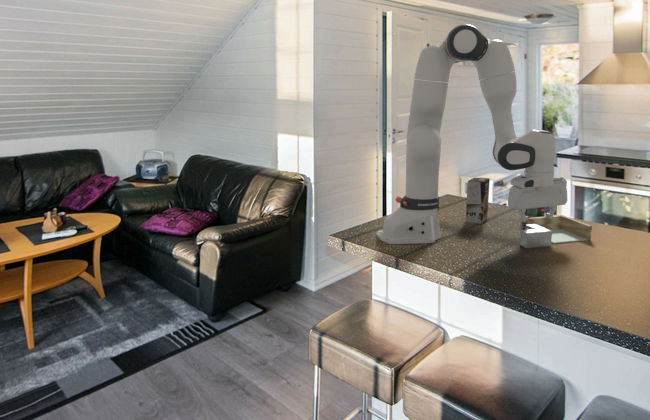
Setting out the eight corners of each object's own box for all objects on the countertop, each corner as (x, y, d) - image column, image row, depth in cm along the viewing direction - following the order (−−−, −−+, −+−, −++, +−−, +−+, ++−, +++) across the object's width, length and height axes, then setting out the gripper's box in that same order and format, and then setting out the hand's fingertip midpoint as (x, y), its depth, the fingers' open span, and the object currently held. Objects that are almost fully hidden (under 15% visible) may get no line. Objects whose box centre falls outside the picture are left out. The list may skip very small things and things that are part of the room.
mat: (553, 243, 170) (554, 242, 170) (526, 231, 184) (526, 230, 184) (590, 240, 173) (590, 239, 173) (560, 228, 187) (560, 227, 187)
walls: (553, 243, 170) (555, 229, 169) (526, 231, 184) (527, 217, 183) (590, 240, 173) (592, 225, 172) (560, 228, 187) (562, 215, 186)
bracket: (550, 245, 168) (552, 231, 167) (526, 248, 166) (527, 233, 165) (533, 238, 177) (535, 223, 175) (510, 240, 175) (511, 226, 173)
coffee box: (481, 224, 195) (484, 182, 191) (464, 222, 198) (466, 180, 194) (488, 218, 202) (490, 178, 198) (471, 216, 206) (473, 176, 202)
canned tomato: (547, 224, 193) (549, 195, 190) (525, 224, 193) (528, 195, 190) (538, 218, 201) (541, 191, 198) (518, 219, 201) (520, 191, 198)
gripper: (560, 175, 175) (557, 214, 178) (506, 180, 170) (504, 220, 173) (573, 178, 169) (570, 219, 172) (517, 183, 164) (515, 225, 167)
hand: (536, 220), depth 173 cm, fingers open, 8 cm apart
